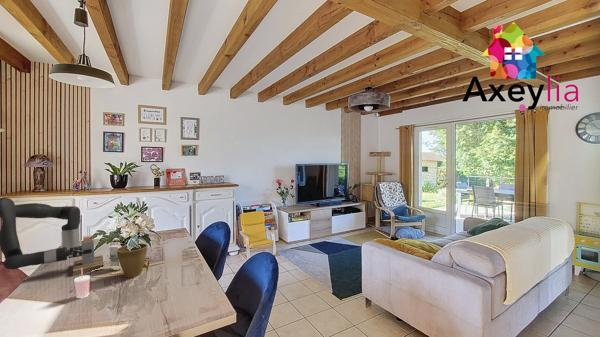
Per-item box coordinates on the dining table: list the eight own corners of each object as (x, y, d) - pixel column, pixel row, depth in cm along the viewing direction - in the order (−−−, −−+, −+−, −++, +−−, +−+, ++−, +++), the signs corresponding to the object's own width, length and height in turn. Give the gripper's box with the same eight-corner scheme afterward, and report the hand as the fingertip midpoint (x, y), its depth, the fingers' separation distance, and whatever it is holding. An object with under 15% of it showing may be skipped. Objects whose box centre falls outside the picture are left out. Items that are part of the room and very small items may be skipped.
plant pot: (154, 270, 155) (153, 244, 154) (132, 282, 141) (131, 253, 140) (134, 268, 159) (133, 242, 158) (110, 279, 145) (109, 250, 144)
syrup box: (126, 266, 161) (125, 243, 161) (118, 270, 155) (118, 246, 155) (117, 266, 162) (117, 243, 161) (110, 270, 156) (109, 246, 155)
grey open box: (82, 262, 161) (82, 241, 160) (94, 259, 164) (93, 239, 164) (82, 265, 157) (81, 243, 156) (94, 262, 160) (93, 241, 160)
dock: (74, 265, 164) (74, 260, 164) (102, 259, 173) (102, 254, 173) (73, 276, 149) (72, 270, 148) (103, 269, 157) (103, 264, 157)
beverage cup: (77, 294, 128) (76, 266, 128) (93, 292, 131) (91, 264, 130) (72, 300, 123) (70, 271, 122) (88, 298, 125) (86, 269, 124)
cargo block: (83, 243, 160) (83, 236, 160) (91, 241, 163) (91, 235, 163) (83, 244, 157) (83, 238, 157) (91, 243, 160) (91, 236, 160)
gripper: (54, 252, 145) (91, 246, 156) (56, 245, 157) (91, 240, 167) (54, 265, 146) (91, 258, 156) (57, 258, 157) (91, 251, 167)
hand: (91, 249), depth 161 cm, fingers open, 8 cm apart
